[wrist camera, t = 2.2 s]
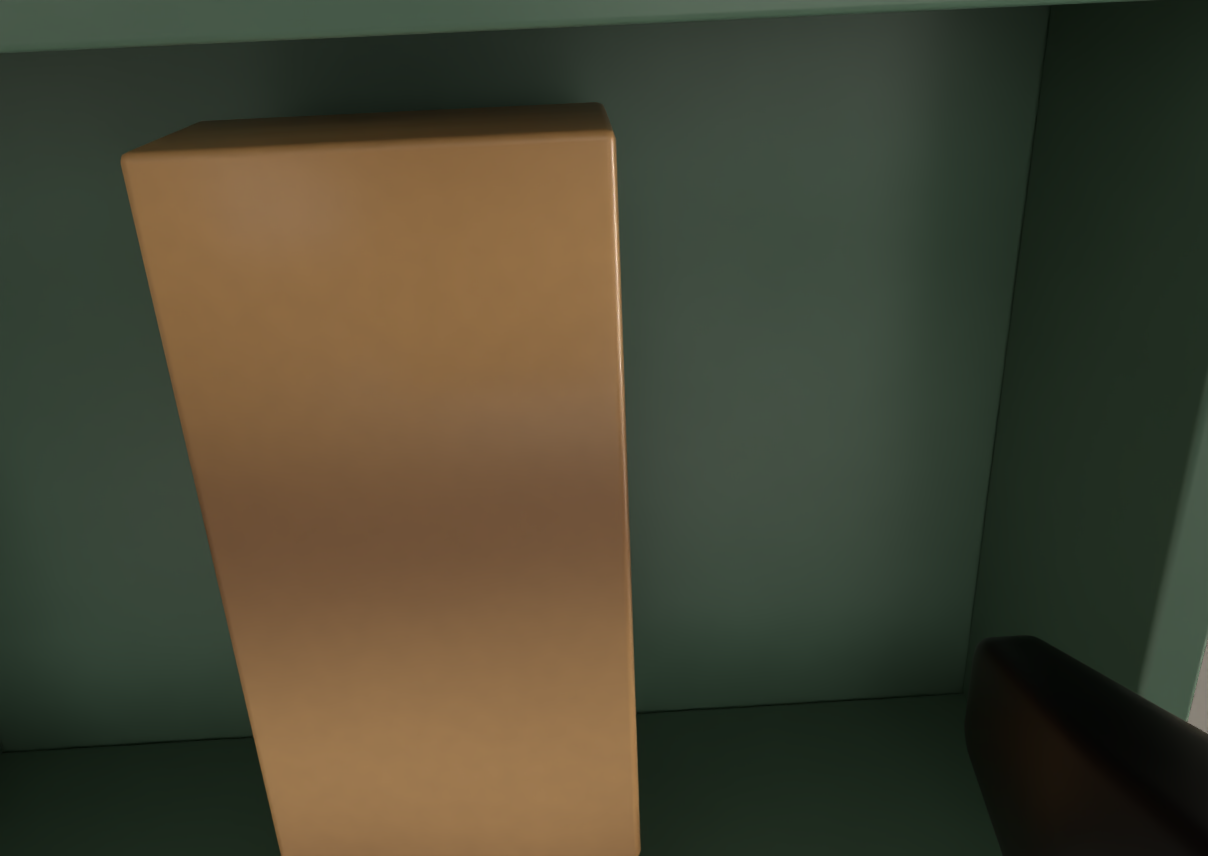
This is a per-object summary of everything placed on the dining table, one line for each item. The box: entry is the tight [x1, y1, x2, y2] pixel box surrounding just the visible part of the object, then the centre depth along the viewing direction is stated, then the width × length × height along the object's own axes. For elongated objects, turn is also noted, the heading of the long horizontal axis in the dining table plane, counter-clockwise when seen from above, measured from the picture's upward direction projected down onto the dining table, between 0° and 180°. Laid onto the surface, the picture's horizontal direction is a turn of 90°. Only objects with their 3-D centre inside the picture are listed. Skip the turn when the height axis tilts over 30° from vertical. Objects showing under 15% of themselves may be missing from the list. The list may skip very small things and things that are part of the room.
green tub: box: [0, 0, 1208, 856], centre depth 11 cm, size 11×15×4 cm
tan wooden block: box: [121, 102, 641, 856], centre depth 11 cm, size 8×4×4 cm, turn 2°
